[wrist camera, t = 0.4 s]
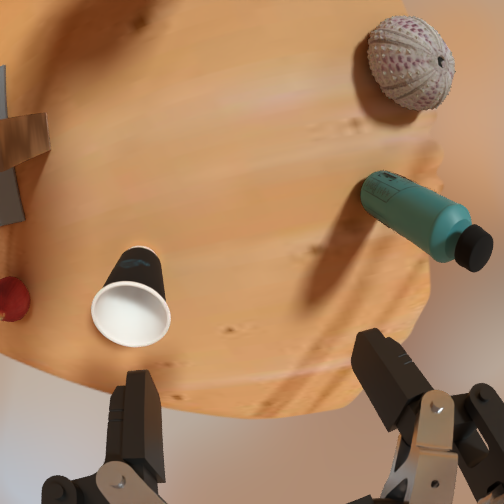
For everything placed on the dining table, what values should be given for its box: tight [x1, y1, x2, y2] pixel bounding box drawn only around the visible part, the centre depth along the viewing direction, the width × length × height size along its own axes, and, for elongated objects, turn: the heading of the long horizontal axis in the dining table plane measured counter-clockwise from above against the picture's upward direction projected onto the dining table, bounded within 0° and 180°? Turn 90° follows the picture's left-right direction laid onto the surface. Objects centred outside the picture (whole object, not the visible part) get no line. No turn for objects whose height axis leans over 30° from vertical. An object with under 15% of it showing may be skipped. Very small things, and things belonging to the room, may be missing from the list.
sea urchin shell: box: [367, 15, 456, 111], centre depth 28 cm, size 13×14×8 cm
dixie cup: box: [91, 246, 171, 347], centre depth 32 cm, size 8×8×11 cm
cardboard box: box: [0, 112, 51, 172], centre depth 22 cm, size 4×4×11 cm
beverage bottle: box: [360, 171, 493, 272], centre depth 31 cm, size 6×7×20 cm
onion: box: [0, 276, 30, 322], centre depth 31 cm, size 6×6×8 cm
